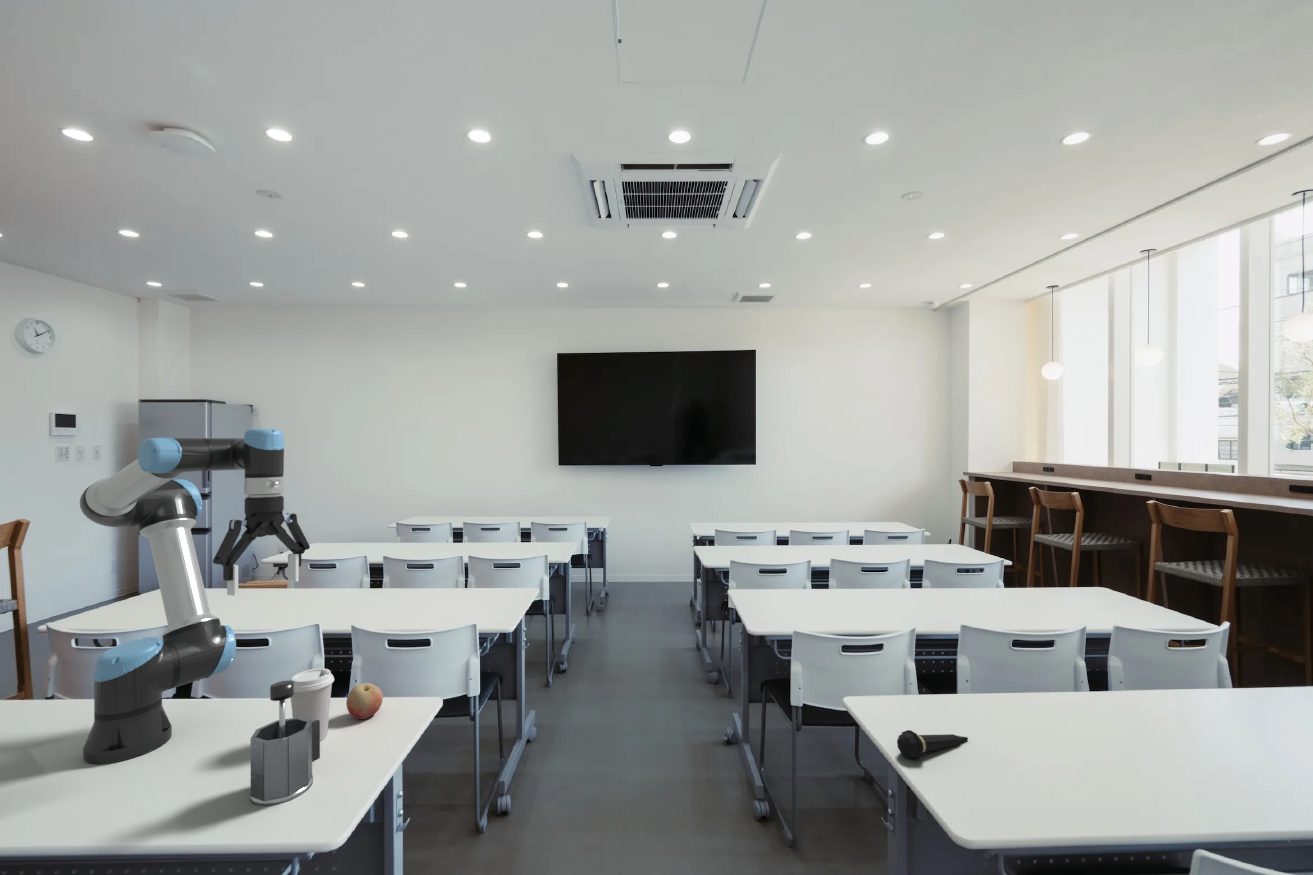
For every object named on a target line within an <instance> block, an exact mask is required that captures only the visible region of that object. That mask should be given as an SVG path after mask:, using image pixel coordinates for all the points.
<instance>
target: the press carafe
mask: <svg viewBox="0 0 1313 875" xmlns="http://www.w3.org/2000/svg"><path fill="white" fill-rule="evenodd" d="M320 758H321V741H320V720H315V721H313V722H312V720H308V719H305V718H301V717H296V718H293V717H290V718H285V738H280V739H279V719H278V720H274V721H273V722H270V723H268V724H266V725H263V726H261V727H259V728H256V729H255V731H254V733H253V734H252V736H251V737H250V793H249V794H250V795H249V800H250V802H251V804H253V805H256V806H259V807H260V806H261V807H262V806H263V807H264V806H265V807H267V806H268V807H269V806H274V805H279V804H280V805H281V804H283V803H287V802H289V801H292V800H293V799H295V798H298V797H299V796H301V795H302V794H304V793H306V792H308V790H309V789H310V788H312V785H313V783H314V776H313V763H314V762H315V761H317V760H319V759H320Z"/></svg>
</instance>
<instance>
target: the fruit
mask: <svg viewBox="0 0 1313 875" xmlns="http://www.w3.org/2000/svg"><path fill="white" fill-rule="evenodd" d="M383 699H384V696H383V692H382V690H381V688H380V687H379V686H377V685H374V684H373V683H370V682H364V683H363V682H362V683H359V684H357V685H355V686H354V687H353V688H352V689H351V690H350V691H349V694H348V696H347V698H346V703H345V704H346V709H347V712H348V713H349V714H350V715H351V716H352V717H354V718H355V719H361V720H364V719H368V718H370V717H373V716H374V715H375V714H376V713H378V711H379V710H380V708H381V706H382V703H383Z"/></svg>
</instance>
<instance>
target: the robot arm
mask: <svg viewBox="0 0 1313 875" xmlns="http://www.w3.org/2000/svg"><path fill="white" fill-rule="evenodd" d="M284 461H285V442H284V434H283V431H282V430H280V429H273V428H251V429H246V431H245V432H244V437H235V438H234V437H228V438H226V437H225V438H224V437H220V438H219V437H217V438H216V437H213V438H212V437H211V438H210V437H203V438H201V437H198V438H197V437H168V436H167V437H166V436H163V437H156V438H155V437H153V438H147V439H144V440H143V441H142V442H141V444H140V446H139V448H138V450H137V459H135V460H133V461H132V462H131V463H129V464H128V465H126V466H125V467H124V468H122V469H120V470H119V471H117V472H116V473H115V474H113V475H111V476H110V477H107V478H102V479H99V480H97V481H94V482H93V483H91V484H90V485H89V486H88V487H86V489H85V490H83V492H82V494H81V495H80V498H79V506H80V507H79V508H80V510H81V512H82V514H83V515H84V516H85V517H86V518H87V519H88V520H90V521H92V522H94V523H95V524H98V525H100V526H104V527H109V528H128V527H129V528H130V527H138V531H139V532H138V533H139V535H140V536H142V537H144V538H146V539H149V540H148V541H149V545H150V550H151V554H152V558H153V559H152V560H153V563H154V567H155V572H156V578H157V581H158V586H159V590H160V595H161V599H162V604H163V608H164V613H165V618H166V622H167V623H166V624H167V628H166V630H164V632H163V633H162V635H161V638H160V637H158V636H157V637H156V636H153V637H152V636H151V637H144V638H141V639H139V638H138V639H134V640H129V641H127V642H123V643H120V644H117V645H116V646H113V647H111V648H109V649H107V650H106V651H104V652H102V653H101V654H100V655H99V656H98V657H96V660H95V663H94V672H93V676H92V679H93V690H94V691H93V693H94V694H93V698H94V699H93V702H94V703H93V705H94V706H93V711H94V712H93V717H94V718H93V723H92V726H91V729H90V731H89V733H88V736H87V739H86V741H85V744H84V746H83V748H82V749H83V750H82V752H83V753H82V761H83V762H85V763H87V764H92V765H100V764H101V765H102V764H104V765H105V764H112V763H116V762H121V761H125V760H129V759H132V758H136V757H139V756H141V755H145V754H147V753H149V752H152V751H153V750H157V749H158V748H160V747H162V746H163V745H165V744H166V743H167V742H169V741H170V739H172V735H173V734H172V731H173V730H172V729H173V728H172V727H173V726H172V723H171V721H170V720H169V717H168V715H167V713H166V711H165V709H164V706H163V692H165V691H168V690H172V689H175V688H178V687H181V686H184V685H187V684H190V683H194V682H196V681H200V680H203V679H208V678H211V677H213V676H215V675H218V674H221V673H222V672H224V671H226V670H228V668H229V667H230V666H231V664H232V662H233V660H234V657H235V656H236V649H237V640H236V635H235V634H236V633H235V631H234V630H233V629H232V627H231V626H229V625H223V624H221V620H220V617H218V616H215V615H212V614H211V610H210V607H209V602H208V598H207V594H206V590H205V584H204V582H203V576H202V573H201V569H200V563H199V560H198V555H197V551H196V547H195V543H194V539H193V533H192V530H191V529H193V527H195V525H196V524H197V519H198V518H199V517H201V514H202V513H203V512H202V511H203V507H202V506H203V499H202V495H201V493H200V490H199V488H198V487H197V486H196V485H195V484H194V483H193V482H191V481H189V480H187V479H182V478H181V479H180V478H179V479H176V477H178V476H179V475H182V474H183V473H187V472H188V473H189V472H192V473H194V472H206V471H207V472H209V471H210V472H211V471H212V472H215V471H242V470H244V485H243V486H244V487H243V488H244V493H243V494H244V495H245V496H247V497H245V498H244V515H245V517H244V519H242V520H241V519H230V520H229V523H228V530H227V532H226V533H225V536H224V537H223V539H222V542H221V544H220V546H219V547H218V550H217V551H216V554H215V556H214V557H213V559H212V563H213V564H215V565H221V566H222V567H223V568H222V570H223V571H222V573H223V574H222V577H223V581H224V582H225V581H227V582H226V595H227V596H238V595H239V565H238V564H236V563H237V561H238V560H239V559H240V558H241V556H243V553H245V551H246V550H247V549H248V547H249V546H250V544H251V543H252V542H253V541H255V540H256V539H257V538H263V537H266V536H271V537H272V536H275V537H276V538H277V539H279V541H280V542H281V543H282V544H283V545H284V546H285V547H286V548H287V549H288V550H289V551H290V553H289V554H288V555H287V558H288V559H287V560H288V561H287V570H288V572H287V574H288V575H287V578H288V580H287V581H288V582H293V583H298V582H299V580H300V578H299V577H300V574H299V570H300V569H299V568H300V567H302V555H303V554H305V553H306V550H310V544H309V542H308V541H307V540H308V539H306V535H305V534H304V532H303V530H302V528H301V526H300V524H299V522H298V515H297V514H296V513H292V512H291V513H290V512H289V513H285V514H283V511H284V509H285V507H284V506H285V504H284V503H285V502H284V499H285V497H283V495H281V494H283V493H284V488H285V486H284V471H285V470H284V468H285V462H284ZM283 523H285V524H286V527H287V528H288V531H289V532H290V534H291V536H292V537H291V536H290V535H289V533H287V530H286V529H285V528H284V527H283V526H282V525H283ZM244 527H245V528H246V529H245V530H244V531H243V533H242V534H241V530H242V529H244ZM240 534H241V537H240V539H239V540H238V538H239V536H240ZM237 540H238V541H237Z"/></svg>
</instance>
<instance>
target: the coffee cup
mask: <svg viewBox="0 0 1313 875" xmlns="http://www.w3.org/2000/svg"><path fill="white" fill-rule="evenodd" d="M331 672H332V671H331V670H330V669H328V668H312V669H307V670H304V671H300V672H298V673H296V674H294V675H293V676H292V677H291V679H290V681H293V682H294V695H293V696H292V697H290V704H291V713H292V714H291V715H292V718H296V717H301V718H305V719H308V720H312V722H313V721H315V720H320V742H321V741H323V740H325V739H326V738H327V736H328V728H329V718H330V706H331V697H332V696H331V695H332V686H333V683H334V682H335V677H334V675H333V674H332V673H331Z"/></svg>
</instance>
